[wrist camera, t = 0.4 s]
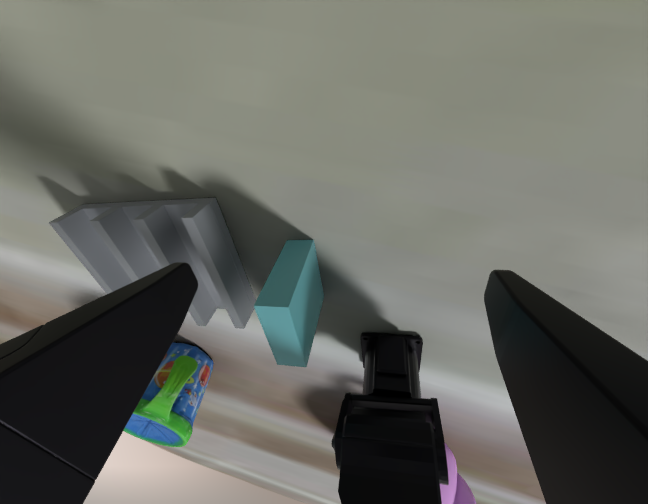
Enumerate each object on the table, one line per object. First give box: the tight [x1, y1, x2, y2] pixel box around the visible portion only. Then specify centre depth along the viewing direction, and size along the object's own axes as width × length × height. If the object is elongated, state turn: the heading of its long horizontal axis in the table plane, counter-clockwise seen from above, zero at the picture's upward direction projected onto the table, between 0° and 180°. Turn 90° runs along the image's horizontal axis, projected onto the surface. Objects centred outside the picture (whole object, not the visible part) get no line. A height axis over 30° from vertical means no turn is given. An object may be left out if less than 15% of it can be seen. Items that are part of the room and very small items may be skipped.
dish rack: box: [49, 198, 256, 329], centre depth 28 cm, size 13×15×4 cm
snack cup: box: [123, 342, 213, 447], centre depth 37 cm, size 16×10×10 cm
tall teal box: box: [254, 240, 324, 367], centre depth 24 cm, size 7×2×8 cm, turn 8°
